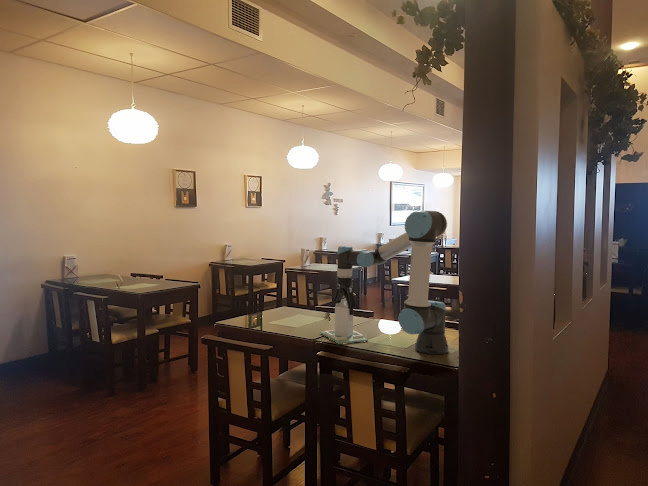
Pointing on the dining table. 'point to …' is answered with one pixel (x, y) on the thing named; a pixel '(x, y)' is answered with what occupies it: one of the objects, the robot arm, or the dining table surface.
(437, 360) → the dining table surface
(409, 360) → the dining table surface
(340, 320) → the milk carton
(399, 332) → the dining table surface
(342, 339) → the shallow tray
